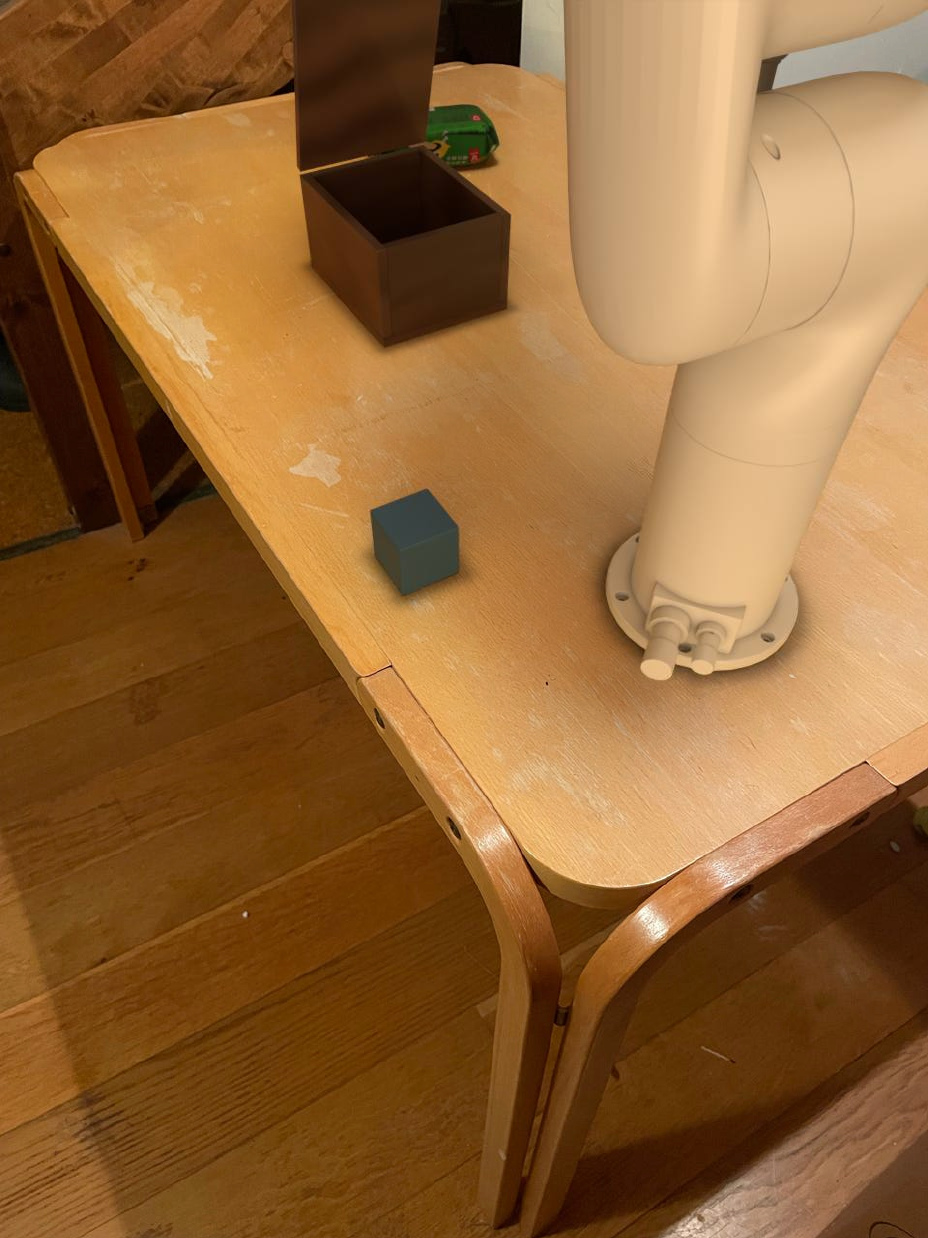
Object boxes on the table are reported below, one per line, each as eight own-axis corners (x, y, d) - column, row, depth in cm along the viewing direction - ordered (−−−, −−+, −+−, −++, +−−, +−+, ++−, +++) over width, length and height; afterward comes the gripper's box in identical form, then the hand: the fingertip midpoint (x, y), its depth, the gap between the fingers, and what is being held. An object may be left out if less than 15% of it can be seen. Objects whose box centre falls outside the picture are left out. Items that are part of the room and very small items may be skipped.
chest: (507, 308, 83) (511, 213, 76) (384, 347, 79) (376, 251, 72) (426, 235, 92) (423, 144, 85) (311, 266, 88) (299, 174, 81)
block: (459, 572, 62) (459, 527, 58) (403, 596, 60) (399, 551, 57) (429, 533, 64) (427, 487, 61) (374, 555, 63) (369, 509, 59)
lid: (446, -52, 70) (413, -92, 71) (294, -28, 65) (263, -71, 67) (425, 141, 84) (398, 104, 86) (300, 171, 80) (274, 132, 82)
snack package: (360, 153, 104) (356, 105, 100) (491, 141, 106) (492, 93, 102) (369, 181, 99) (365, 132, 95) (505, 168, 102) (507, 119, 97)
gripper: (222, -264, 56) (269, 56, 70) (460, -280, 62) (459, 19, 76) (183, -279, 60) (234, 26, 74) (410, -293, 66) (418, -6, 80)
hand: (348, 20), depth 75 cm, fingers open, 6 cm apart
